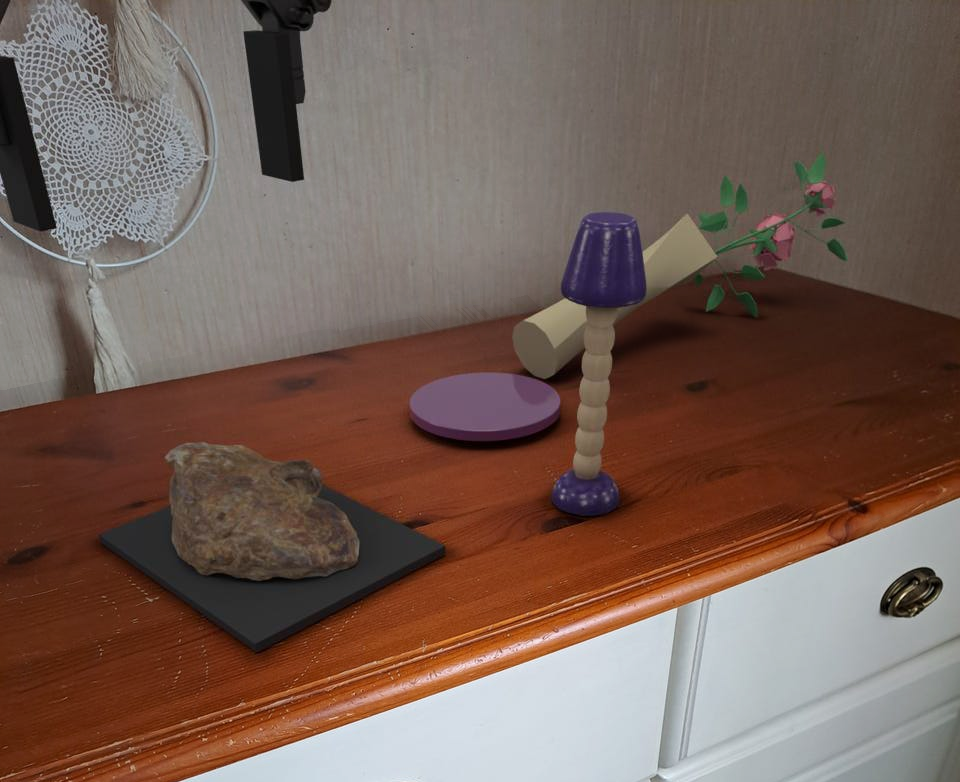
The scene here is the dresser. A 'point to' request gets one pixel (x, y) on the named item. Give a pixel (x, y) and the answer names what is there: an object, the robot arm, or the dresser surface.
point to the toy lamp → (598, 346)
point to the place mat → (278, 601)
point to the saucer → (485, 406)
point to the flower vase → (679, 270)
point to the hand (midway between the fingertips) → (169, 200)
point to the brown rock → (255, 515)
